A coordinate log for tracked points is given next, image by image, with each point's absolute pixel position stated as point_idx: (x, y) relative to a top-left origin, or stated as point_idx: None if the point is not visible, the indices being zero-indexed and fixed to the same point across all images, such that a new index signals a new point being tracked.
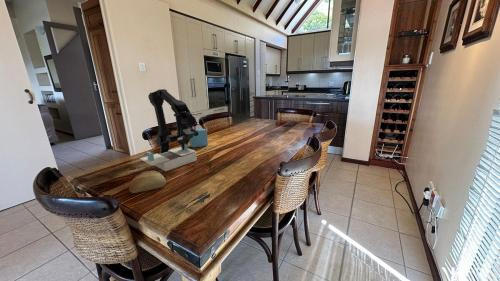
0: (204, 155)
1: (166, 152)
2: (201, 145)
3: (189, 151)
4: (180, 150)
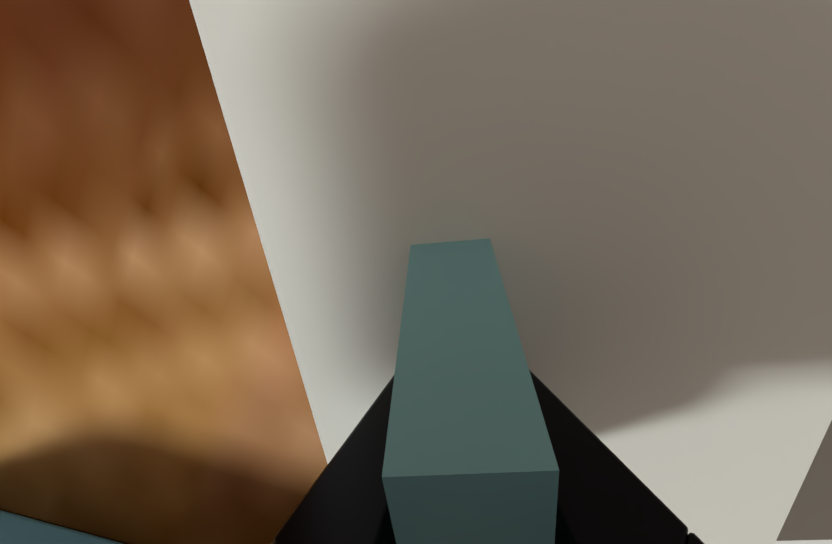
0: (45, 124)
1: (809, 534)
2: (13, 531)
3: (430, 44)
4: (588, 398)
